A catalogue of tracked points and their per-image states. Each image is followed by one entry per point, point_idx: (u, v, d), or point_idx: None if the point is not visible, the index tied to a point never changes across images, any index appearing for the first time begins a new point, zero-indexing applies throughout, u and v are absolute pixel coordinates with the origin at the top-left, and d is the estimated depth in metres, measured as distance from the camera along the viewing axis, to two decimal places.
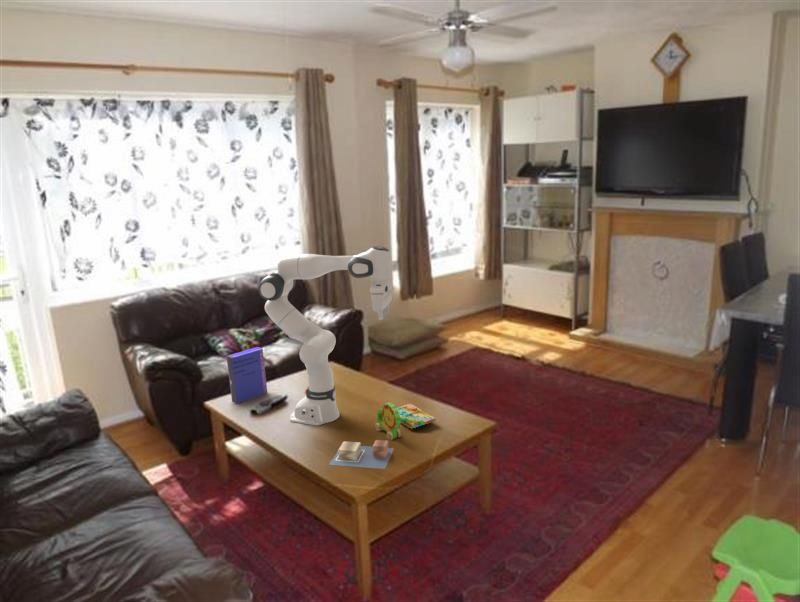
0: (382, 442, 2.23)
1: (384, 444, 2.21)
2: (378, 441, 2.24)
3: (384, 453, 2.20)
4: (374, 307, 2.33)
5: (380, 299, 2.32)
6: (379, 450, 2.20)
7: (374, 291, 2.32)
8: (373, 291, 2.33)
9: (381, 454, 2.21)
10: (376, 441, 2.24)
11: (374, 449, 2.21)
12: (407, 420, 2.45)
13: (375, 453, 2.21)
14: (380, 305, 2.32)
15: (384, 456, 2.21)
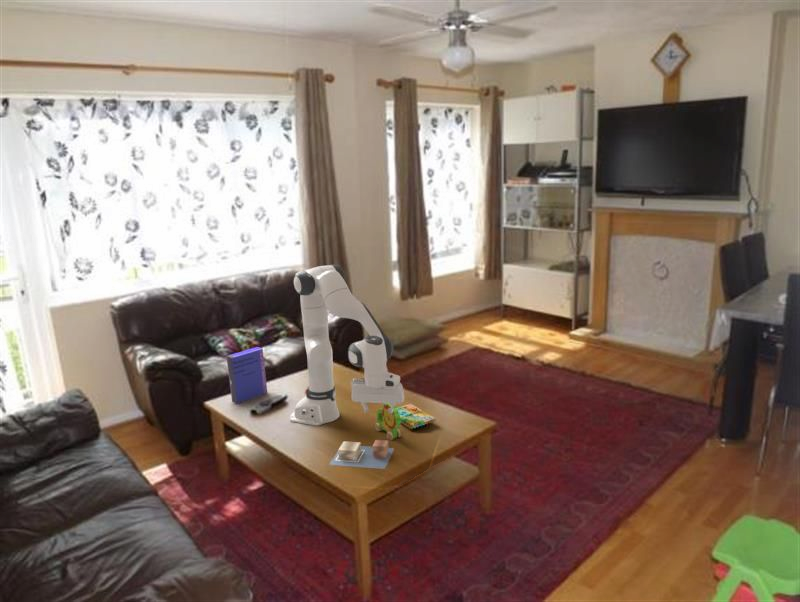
0: (382, 442, 2.23)
1: (384, 444, 2.21)
2: (378, 441, 2.24)
3: (384, 453, 2.20)
4: (402, 398, 2.15)
5: (402, 387, 2.16)
6: (379, 450, 2.20)
7: (398, 382, 2.13)
8: (398, 382, 2.13)
9: (381, 454, 2.21)
10: (376, 441, 2.24)
11: (374, 449, 2.21)
12: (407, 420, 2.45)
13: (375, 453, 2.21)
14: (403, 393, 2.17)
15: (384, 456, 2.21)
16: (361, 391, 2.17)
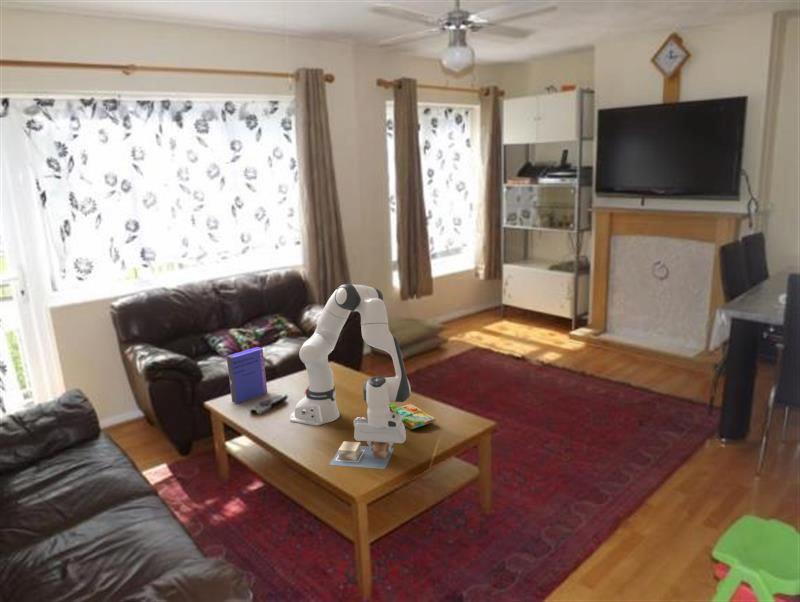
0: (382, 442, 2.23)
1: (384, 444, 2.21)
2: None
3: (384, 453, 2.20)
4: (404, 438, 2.18)
5: (404, 427, 2.20)
6: (379, 450, 2.20)
7: (400, 422, 2.17)
8: (400, 423, 2.17)
9: (381, 454, 2.21)
10: None
11: (374, 449, 2.21)
12: (407, 420, 2.45)
13: (375, 453, 2.21)
14: (405, 433, 2.21)
15: (384, 456, 2.21)
16: (364, 430, 2.21)
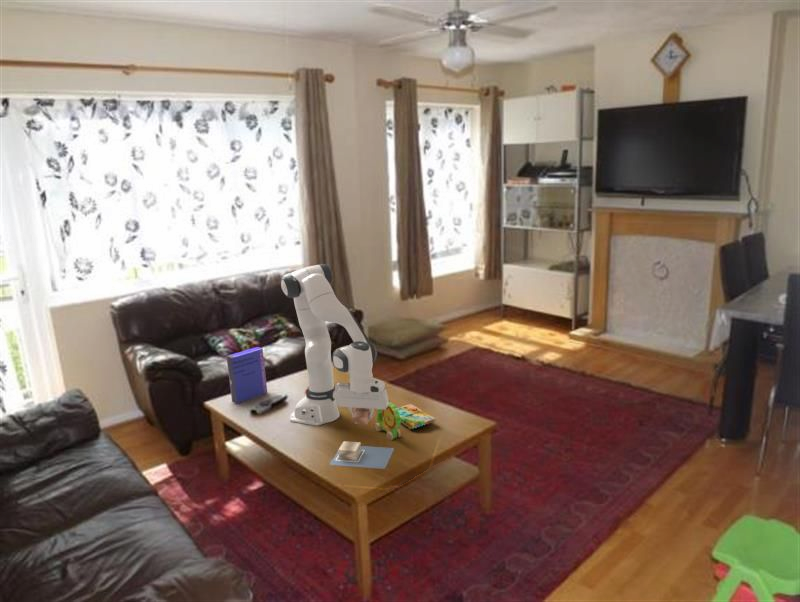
0: (363, 408, 2.21)
1: (366, 410, 2.19)
2: None
3: (366, 419, 2.18)
4: (386, 404, 2.16)
5: (386, 393, 2.18)
6: (361, 416, 2.18)
7: (383, 388, 2.15)
8: (383, 388, 2.15)
9: (363, 420, 2.18)
10: None
11: (356, 415, 2.18)
12: (407, 420, 2.45)
13: (357, 419, 2.18)
14: None
15: (366, 422, 2.18)
16: (346, 396, 2.18)
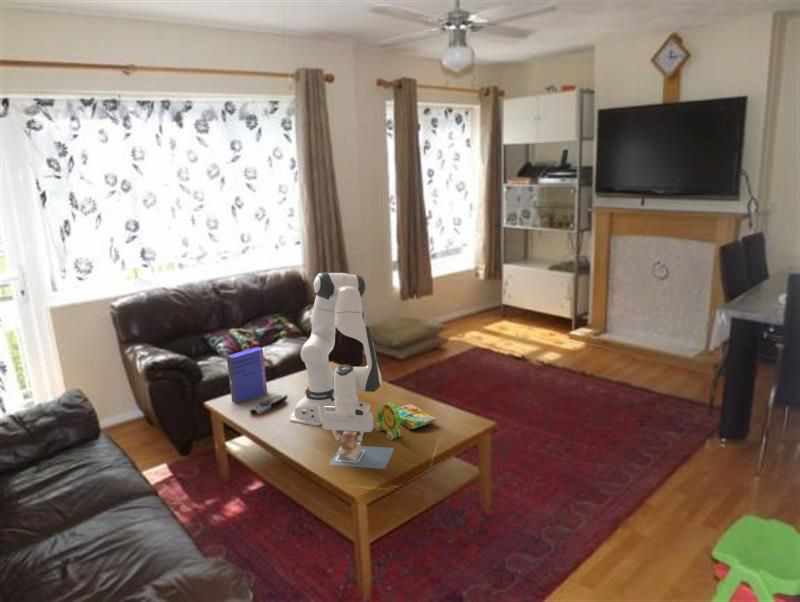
0: (350, 433, 2.23)
1: (352, 435, 2.21)
2: (346, 432, 2.24)
3: (352, 444, 2.20)
4: (372, 427, 2.18)
5: (372, 416, 2.20)
6: (347, 441, 2.20)
7: (368, 411, 2.17)
8: (367, 411, 2.16)
9: (349, 445, 2.20)
10: (344, 432, 2.24)
11: (342, 440, 2.20)
12: (407, 420, 2.45)
13: (344, 444, 2.21)
14: (373, 422, 2.20)
15: (352, 447, 2.20)
16: (332, 419, 2.20)
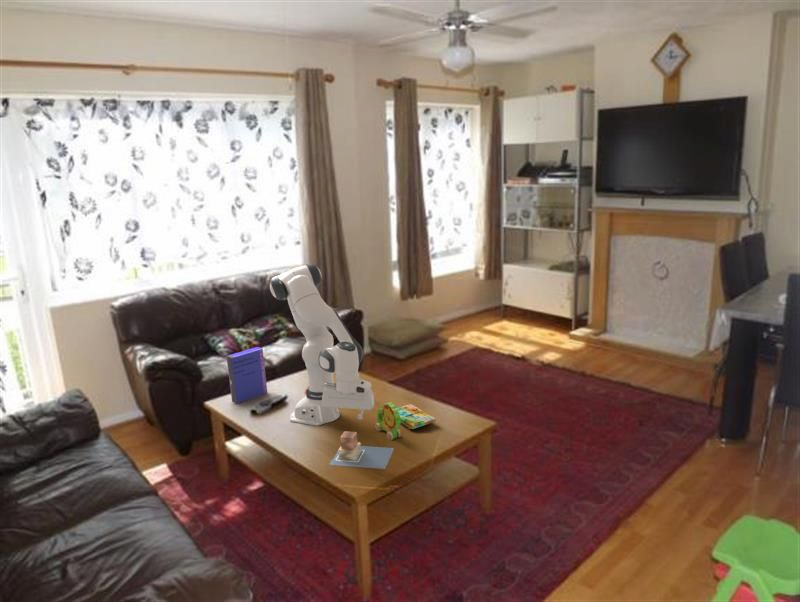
0: (350, 433, 2.23)
1: (352, 435, 2.21)
2: (347, 432, 2.24)
3: (352, 444, 2.20)
4: (372, 405, 2.17)
5: (372, 394, 2.18)
6: (347, 441, 2.20)
7: (369, 389, 2.15)
8: (368, 389, 2.15)
9: (349, 445, 2.20)
10: (345, 432, 2.24)
11: (342, 440, 2.20)
12: (407, 420, 2.45)
13: (343, 444, 2.21)
14: (373, 400, 2.19)
15: (352, 447, 2.20)
16: (332, 396, 2.18)
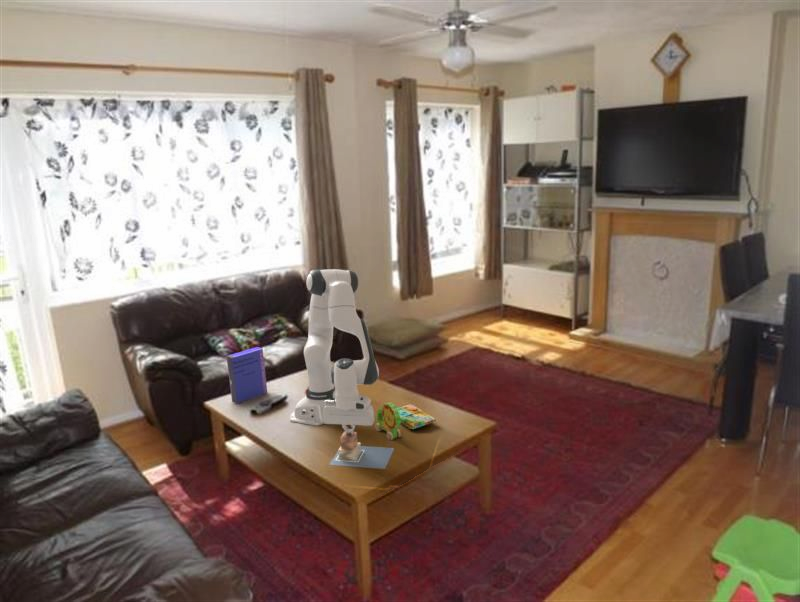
0: None
1: (352, 435, 2.21)
2: None
3: (352, 444, 2.20)
4: (372, 420, 2.18)
5: (372, 409, 2.19)
6: (347, 441, 2.20)
7: (368, 404, 2.16)
8: (368, 405, 2.16)
9: (349, 445, 2.20)
10: None
11: (342, 440, 2.20)
12: (407, 420, 2.45)
13: (343, 444, 2.21)
14: None
15: (352, 447, 2.20)
16: (332, 413, 2.20)
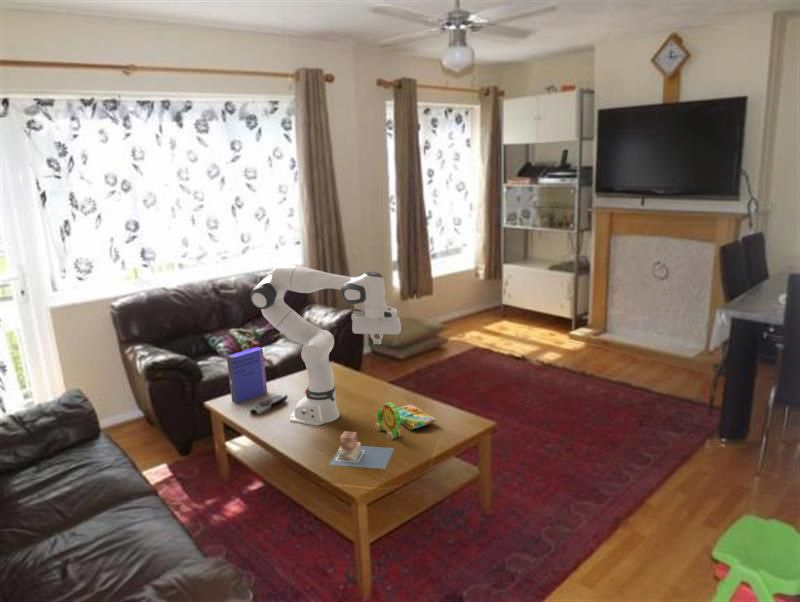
0: (350, 433, 2.23)
1: (352, 435, 2.21)
2: (346, 432, 2.24)
3: (351, 444, 2.20)
4: (399, 329, 2.32)
5: (399, 319, 2.33)
6: (347, 441, 2.20)
7: (395, 314, 2.30)
8: (395, 314, 2.30)
9: (349, 445, 2.20)
10: (344, 432, 2.24)
11: (342, 440, 2.20)
12: (407, 421, 2.45)
13: (343, 444, 2.21)
14: (400, 325, 2.34)
15: (352, 447, 2.20)
16: (361, 323, 2.34)
